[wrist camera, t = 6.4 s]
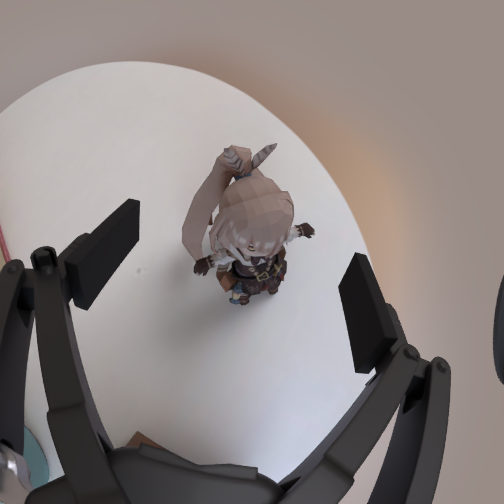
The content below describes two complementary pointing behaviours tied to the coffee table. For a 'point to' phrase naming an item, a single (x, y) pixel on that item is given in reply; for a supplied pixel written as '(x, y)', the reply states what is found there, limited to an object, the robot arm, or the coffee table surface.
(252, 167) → the toy
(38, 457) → the bowl
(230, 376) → the coffee table surface
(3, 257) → the book
